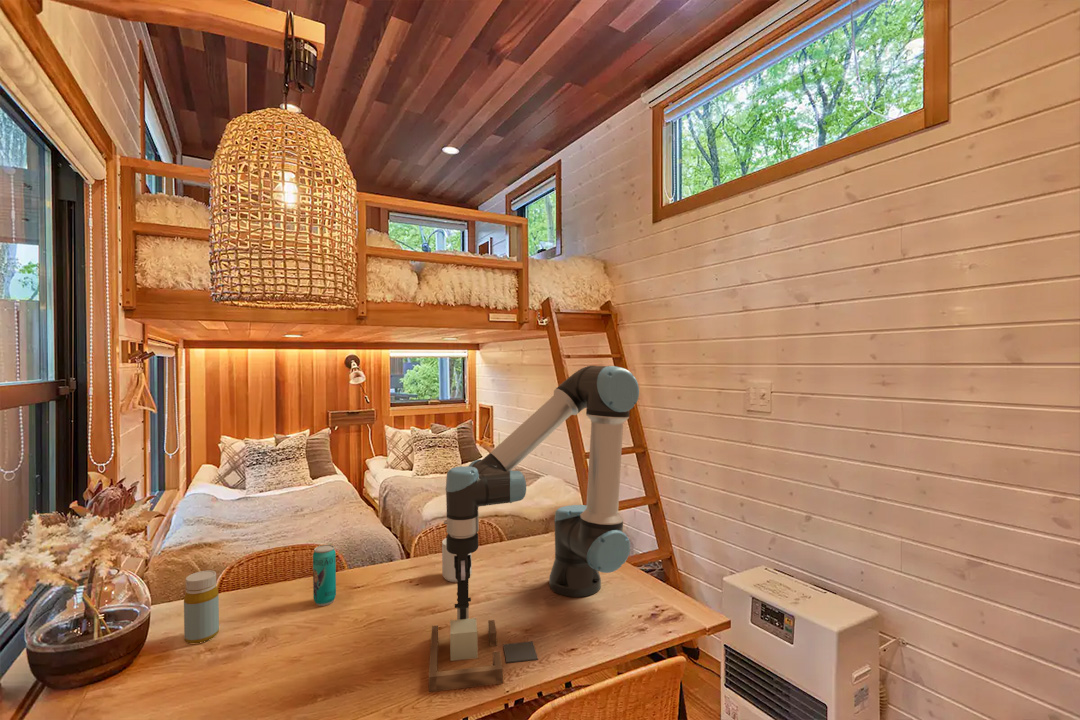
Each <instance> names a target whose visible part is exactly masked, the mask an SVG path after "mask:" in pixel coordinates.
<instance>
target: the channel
mask: <svg viewBox="0 0 1080 720" xmlns="http://www.w3.org/2000/svg"><path fill="white" fill-rule="evenodd" d="M495 621H496V620H495V619H489V620H488V621H487V627H488V628H487V629H488V631H487V632H488V640H489V646H490V647H496V646H497V645H498V644H497V643H498V641H497V639H498V635H497V627H496V622H495ZM429 652H430V653H429V667H428V693H432V692H440V691H447V690H448V691H449V690H455V689H456V690H459V689H465V688H474V687H481V686H492V685H499V684H501V685H502V684H504V670H503V669H504V668H503V667H504V666H503V663H502V662H503V661H502V656H501V651H500V650H498V651H493V652H492V665H488V666H487V665H486V666H485V665H484V666H477V667H470V668H459V669H452V670H451V669H450V670H444V671H443V670H441V671H438V659H439V656H438V655H439V653H438V652H439V625H431V634H430V651H429Z"/></svg>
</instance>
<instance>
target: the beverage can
mask: <svg viewBox="0 0 1080 720" xmlns="http://www.w3.org/2000/svg"><path fill="white" fill-rule="evenodd" d="M336 552H337V551H336V550H335V545H333V544H332V545H331V544H323V545H318V546H316V547H315V548H314V549H313V553H312V585H313V586H312V587H313V591H312V593H313V594H312V595H313V596H312V597H313V601H314V603H315V604H316V606H318V607H319V606H320V607H326V606H329V605H331V604H332V603H334V601H335V599H336V596H337V581H336V580H337V579H336V578H337V574H336V573H337V571H336V570H337V569H336V568H337V566H336V565H337V563H336V562H337V561H336V560H337V559H336V556H337V555H336Z"/></svg>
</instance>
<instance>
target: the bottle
mask: <svg viewBox="0 0 1080 720" xmlns="http://www.w3.org/2000/svg"><path fill="white" fill-rule="evenodd" d="M219 599H220V596H219V589H218V587H217V572H216V571H214V570H210V569H209V570H202V571H197V572H194V573H192V574H189V575H188V576H186V577H185V594H184V596H183V621H184V622H183V624H184V626H183V627H184V629H183V630H184V631H183V632H184V633H183V634H184V641H185V642H186V643H187V644H189V643H200V642H203V643H205V642H204V641H206V642H208V641H207V640H209V639H211V638H213V637H214V636H215V635H216V634H217V635H218V634H219V632H220V616H219V615H220V608H219V605H220V604H219V603H220V602H219ZM217 635H216V636H217ZM216 636H215V637H216ZM215 637H214V638H215ZM214 638H213V639H214ZM211 640H212V639H211ZM209 641H210V640H209ZM200 644H201V643H200Z"/></svg>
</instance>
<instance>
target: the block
mask: <svg viewBox="0 0 1080 720" xmlns="http://www.w3.org/2000/svg"><path fill="white" fill-rule="evenodd" d="M449 623H450V626H449V627H450V629H449V634H450V635H449V637H450V639H449V642H450V644H449V646H450V649H449V651H450V653H449V655H450V660H449V661H450V662H452V661H462V660H470V659H471V660H472V659H478V655H479V654H478V651H479V650H478V625H477V617H473V618H469V619H460V620H457V619H451V620H450V622H449Z"/></svg>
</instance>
